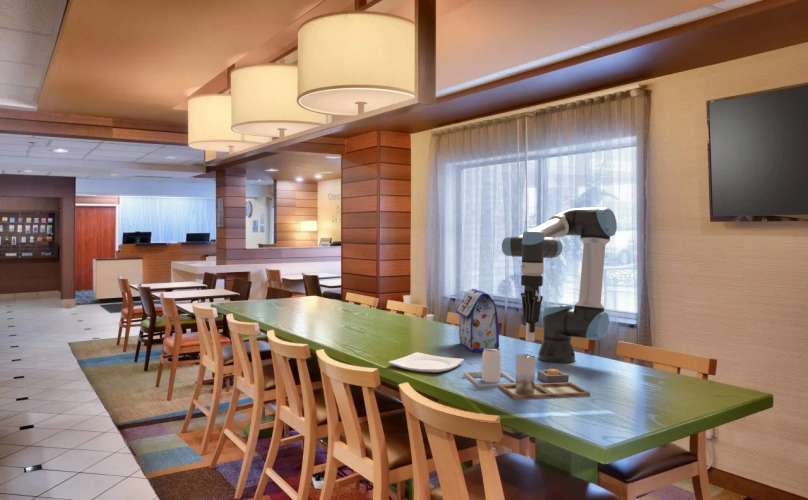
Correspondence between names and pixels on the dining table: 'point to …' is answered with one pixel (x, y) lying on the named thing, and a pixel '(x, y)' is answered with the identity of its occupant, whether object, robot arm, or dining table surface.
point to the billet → (525, 374)
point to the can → (491, 365)
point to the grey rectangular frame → (479, 374)
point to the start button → (552, 371)
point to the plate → (426, 363)
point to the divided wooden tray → (547, 391)
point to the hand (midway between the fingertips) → (530, 341)
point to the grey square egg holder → (553, 377)
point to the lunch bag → (478, 321)
